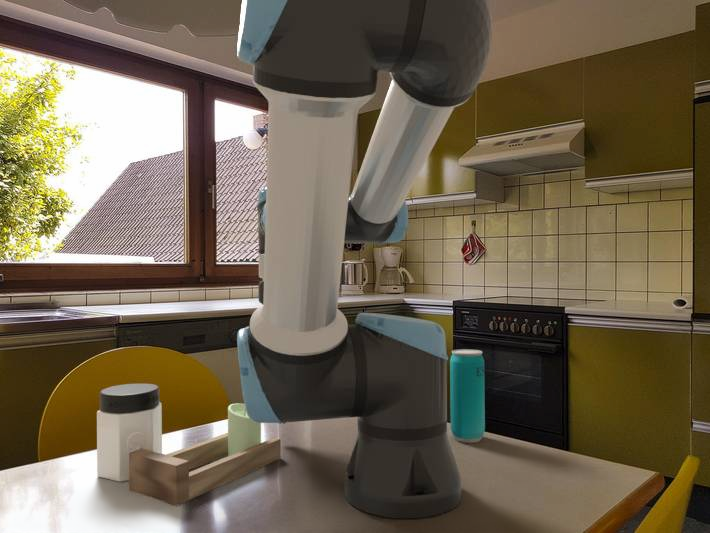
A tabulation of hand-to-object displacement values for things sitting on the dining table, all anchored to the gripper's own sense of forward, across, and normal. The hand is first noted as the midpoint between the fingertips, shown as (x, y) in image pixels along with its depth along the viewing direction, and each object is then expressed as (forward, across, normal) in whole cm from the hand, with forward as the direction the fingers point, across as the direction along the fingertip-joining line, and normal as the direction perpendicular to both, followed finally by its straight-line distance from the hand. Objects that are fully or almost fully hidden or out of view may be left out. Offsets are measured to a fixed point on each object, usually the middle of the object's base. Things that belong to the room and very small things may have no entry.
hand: (281, 418), depth 94 cm
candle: (+4, +9, 0) cm, 10 cm away
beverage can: (+4, -18, +26) cm, 32 cm away
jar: (+4, +22, -10) cm, 25 cm away
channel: (+4, +15, 0) cm, 16 cm away
